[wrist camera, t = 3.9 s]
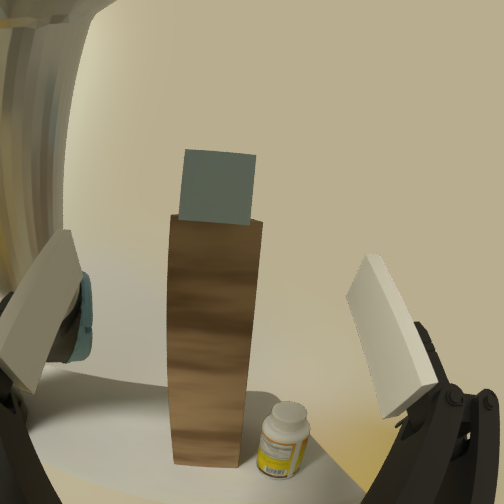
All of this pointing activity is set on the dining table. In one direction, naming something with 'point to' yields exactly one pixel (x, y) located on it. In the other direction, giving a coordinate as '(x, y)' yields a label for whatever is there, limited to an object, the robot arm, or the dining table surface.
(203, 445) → the walnut stand
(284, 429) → the supplement bottle
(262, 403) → the dining table surface
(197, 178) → the bar
